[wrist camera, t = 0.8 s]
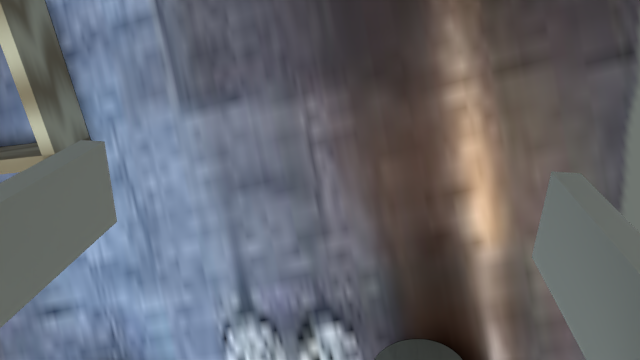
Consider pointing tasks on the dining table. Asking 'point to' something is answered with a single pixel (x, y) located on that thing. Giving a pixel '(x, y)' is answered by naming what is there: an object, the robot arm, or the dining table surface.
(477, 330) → the dining table surface
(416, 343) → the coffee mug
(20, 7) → the box
